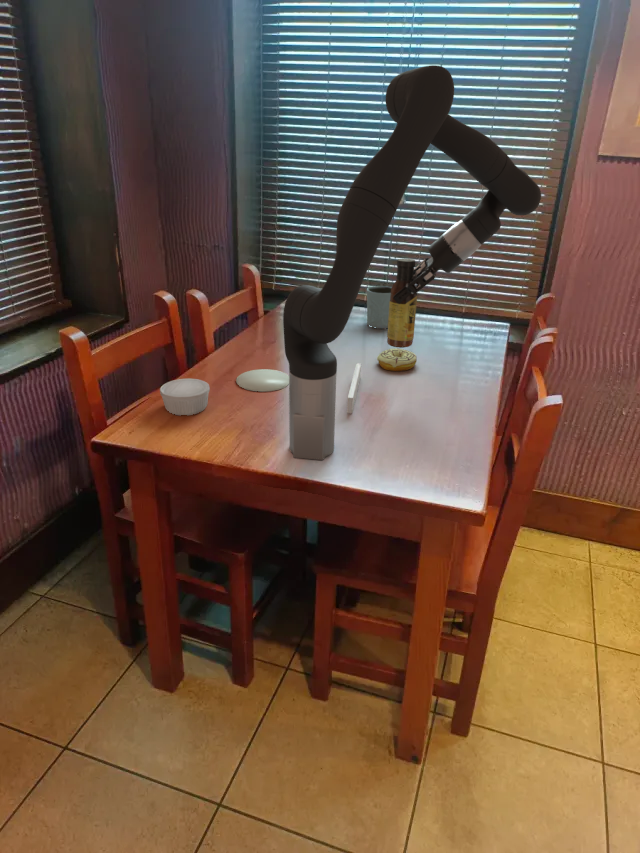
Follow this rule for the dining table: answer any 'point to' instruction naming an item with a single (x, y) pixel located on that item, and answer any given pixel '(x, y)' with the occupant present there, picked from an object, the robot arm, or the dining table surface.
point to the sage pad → (263, 380)
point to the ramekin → (185, 396)
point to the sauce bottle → (402, 308)
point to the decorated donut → (397, 359)
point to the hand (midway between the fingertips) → (396, 296)
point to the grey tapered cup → (378, 306)
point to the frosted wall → (354, 388)
